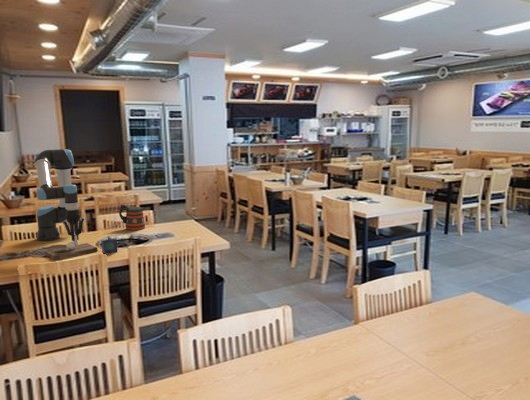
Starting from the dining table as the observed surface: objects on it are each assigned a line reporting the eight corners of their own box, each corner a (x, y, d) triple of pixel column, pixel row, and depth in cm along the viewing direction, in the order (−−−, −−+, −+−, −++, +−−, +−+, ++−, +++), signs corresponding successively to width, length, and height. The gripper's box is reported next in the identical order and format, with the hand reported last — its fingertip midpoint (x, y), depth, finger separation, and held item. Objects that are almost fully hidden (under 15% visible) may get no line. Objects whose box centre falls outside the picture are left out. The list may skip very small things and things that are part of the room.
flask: (102, 254, 259) (101, 237, 257) (101, 253, 261) (100, 236, 260) (117, 252, 263) (116, 236, 261) (117, 251, 265) (116, 235, 264)
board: (45, 255, 258) (45, 251, 257) (87, 246, 276) (86, 243, 276) (55, 260, 247) (54, 256, 246) (97, 251, 265) (97, 247, 265)
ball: (73, 246, 264) (66, 250, 261) (71, 240, 263) (63, 243, 259) (77, 248, 261) (69, 251, 258) (74, 241, 260) (67, 244, 256)
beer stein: (119, 231, 317) (118, 206, 314) (120, 227, 331) (118, 203, 328) (145, 229, 323) (143, 204, 319) (145, 225, 336) (143, 201, 333)
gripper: (63, 211, 251) (67, 248, 255) (85, 208, 261) (88, 244, 265) (59, 210, 257) (63, 246, 260) (80, 207, 266) (83, 242, 270)
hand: (75, 245), depth 263 cm, fingers closed
